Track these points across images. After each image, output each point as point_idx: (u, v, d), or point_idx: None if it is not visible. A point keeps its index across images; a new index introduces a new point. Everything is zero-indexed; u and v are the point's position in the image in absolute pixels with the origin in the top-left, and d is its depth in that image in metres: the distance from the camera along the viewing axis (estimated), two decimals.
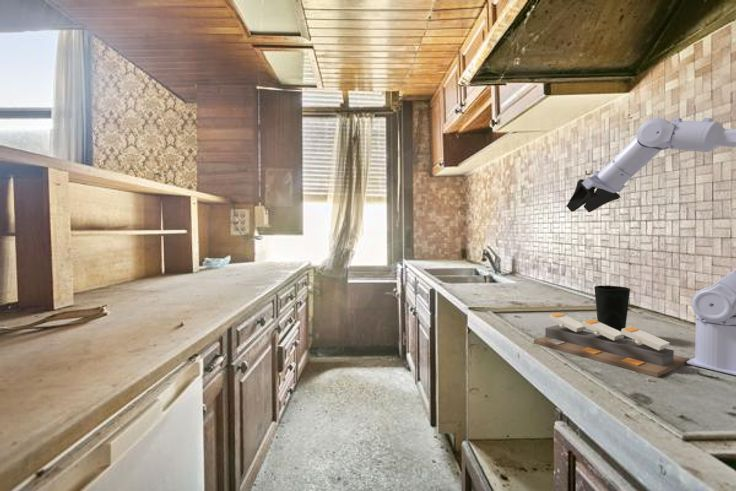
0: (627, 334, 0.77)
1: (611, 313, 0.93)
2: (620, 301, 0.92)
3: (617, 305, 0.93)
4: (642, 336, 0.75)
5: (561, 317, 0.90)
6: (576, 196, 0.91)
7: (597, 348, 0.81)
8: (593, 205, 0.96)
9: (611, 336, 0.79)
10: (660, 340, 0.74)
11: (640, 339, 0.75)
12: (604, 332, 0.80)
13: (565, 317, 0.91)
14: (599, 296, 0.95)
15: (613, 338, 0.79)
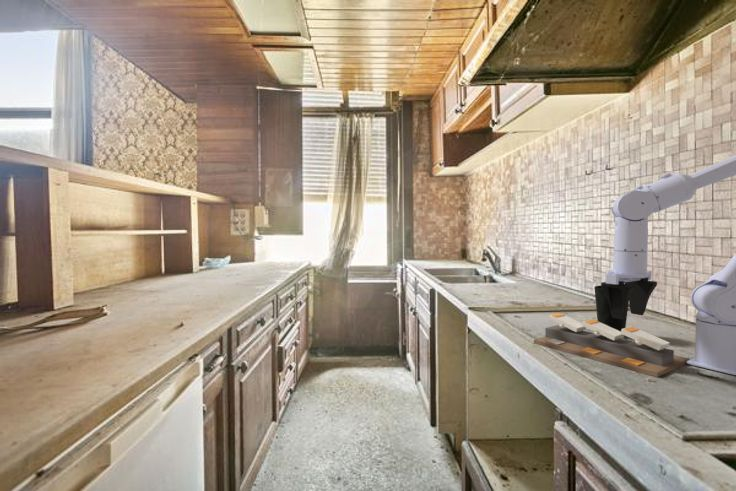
0: (627, 334, 0.77)
1: (611, 313, 0.93)
2: None
3: None
4: (642, 336, 0.75)
5: (561, 317, 0.90)
6: (613, 301, 0.76)
7: (597, 348, 0.81)
8: (639, 305, 0.79)
9: (611, 336, 0.79)
10: (660, 340, 0.74)
11: (640, 339, 0.75)
12: (604, 332, 0.80)
13: (565, 317, 0.91)
14: (599, 296, 0.95)
15: (613, 338, 0.79)
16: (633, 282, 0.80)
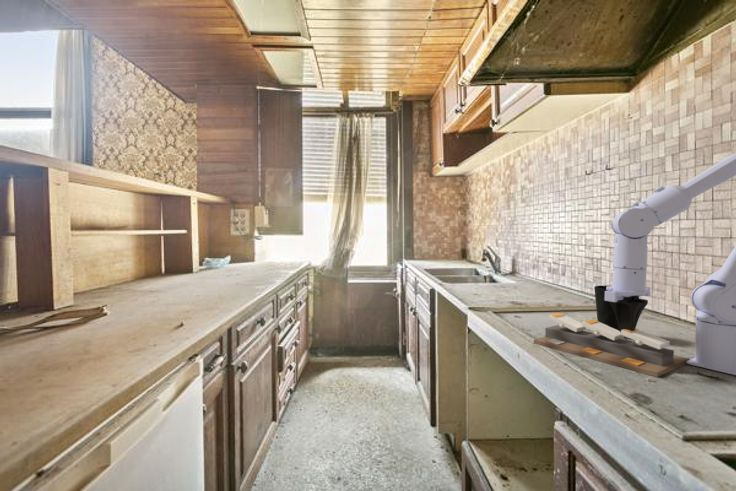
0: (627, 335, 0.77)
1: (611, 313, 0.93)
2: None
3: None
4: (642, 336, 0.75)
5: (561, 317, 0.90)
6: (620, 316, 0.78)
7: (597, 348, 0.81)
8: None
9: (611, 336, 0.79)
10: (660, 339, 0.74)
11: (640, 339, 0.75)
12: (604, 332, 0.80)
13: (565, 317, 0.91)
14: (599, 296, 0.95)
15: (613, 338, 0.79)
16: None
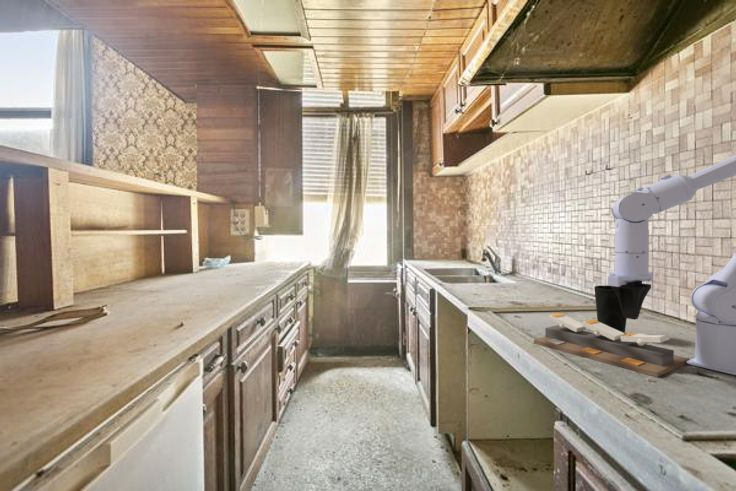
0: (627, 339, 0.77)
1: (611, 313, 0.93)
2: None
3: (617, 305, 0.93)
4: (641, 336, 0.75)
5: (561, 317, 0.90)
6: (624, 301, 0.78)
7: (597, 348, 0.81)
8: None
9: (611, 336, 0.79)
10: (659, 334, 0.74)
11: (640, 339, 0.75)
12: (604, 332, 0.80)
13: (565, 317, 0.91)
14: (599, 296, 0.95)
15: (613, 338, 0.79)
16: None
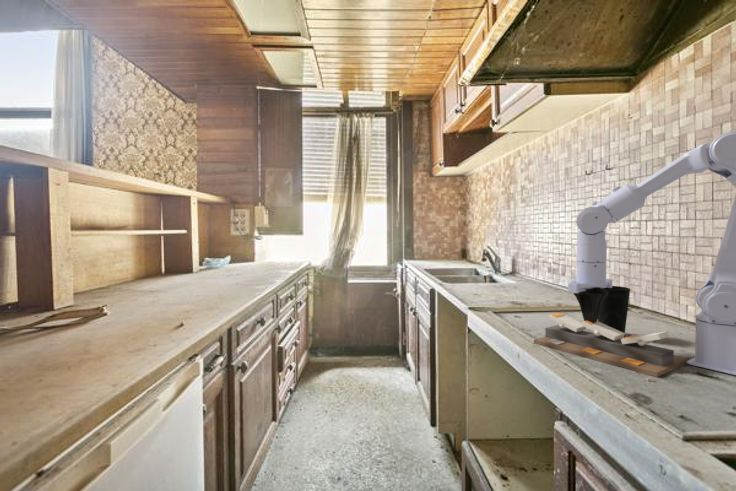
0: (628, 341, 0.77)
1: (611, 313, 0.93)
2: (620, 301, 0.92)
3: (617, 305, 0.93)
4: (640, 336, 0.75)
5: (561, 317, 0.90)
6: (584, 306, 0.85)
7: (597, 348, 0.81)
8: None
9: (611, 336, 0.79)
10: (658, 332, 0.75)
11: (640, 339, 0.75)
12: (604, 332, 0.80)
13: (565, 317, 0.91)
14: None
15: (613, 338, 0.79)
16: None
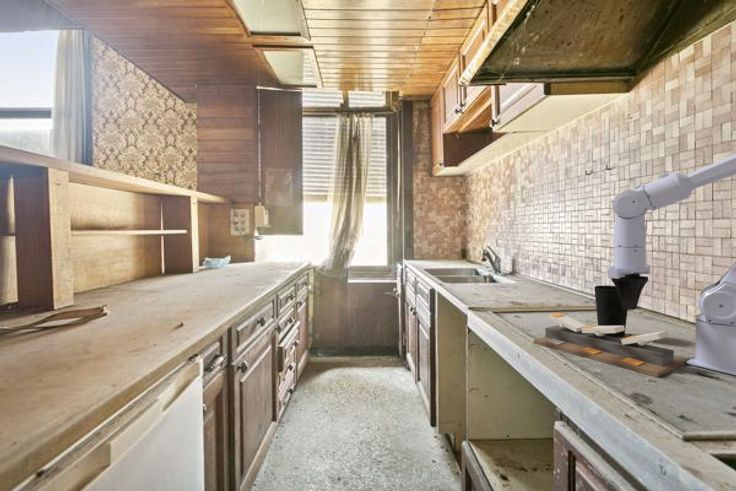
0: (628, 341, 0.76)
1: (611, 313, 0.93)
2: (620, 301, 0.92)
3: (617, 305, 0.93)
4: (640, 336, 0.75)
5: (561, 317, 0.90)
6: (623, 293, 0.83)
7: (597, 348, 0.81)
8: None
9: (611, 329, 0.79)
10: (658, 332, 0.75)
11: (640, 339, 0.75)
12: (604, 329, 0.80)
13: (565, 317, 0.91)
14: (599, 296, 0.95)
15: (614, 331, 0.79)
16: None
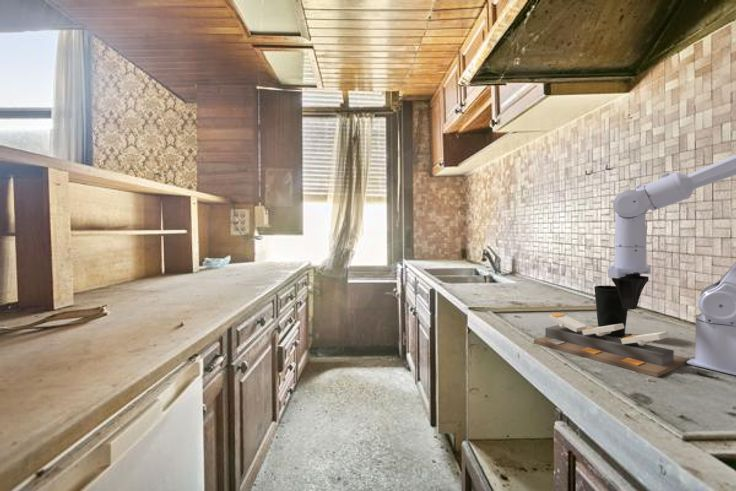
0: (628, 341, 0.77)
1: (611, 313, 0.93)
2: (620, 301, 0.92)
3: (617, 305, 0.93)
4: (640, 336, 0.75)
5: (561, 317, 0.90)
6: (623, 293, 0.83)
7: (597, 348, 0.81)
8: None
9: (610, 328, 0.79)
10: (658, 332, 0.75)
11: (640, 339, 0.75)
12: (603, 328, 0.81)
13: (565, 317, 0.91)
14: (599, 296, 0.95)
15: (613, 328, 0.79)
16: None
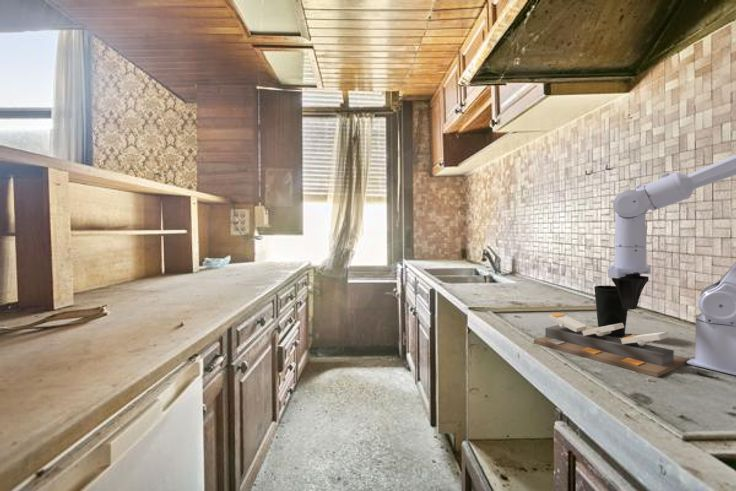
0: (628, 341, 0.77)
1: (611, 313, 0.93)
2: (620, 301, 0.92)
3: (617, 305, 0.93)
4: (640, 336, 0.75)
5: (561, 317, 0.90)
6: (623, 293, 0.83)
7: (597, 348, 0.81)
8: None
9: (610, 327, 0.79)
10: (658, 333, 0.74)
11: (640, 339, 0.75)
12: (603, 328, 0.81)
13: (565, 317, 0.91)
14: (599, 296, 0.95)
15: (613, 328, 0.79)
16: None
